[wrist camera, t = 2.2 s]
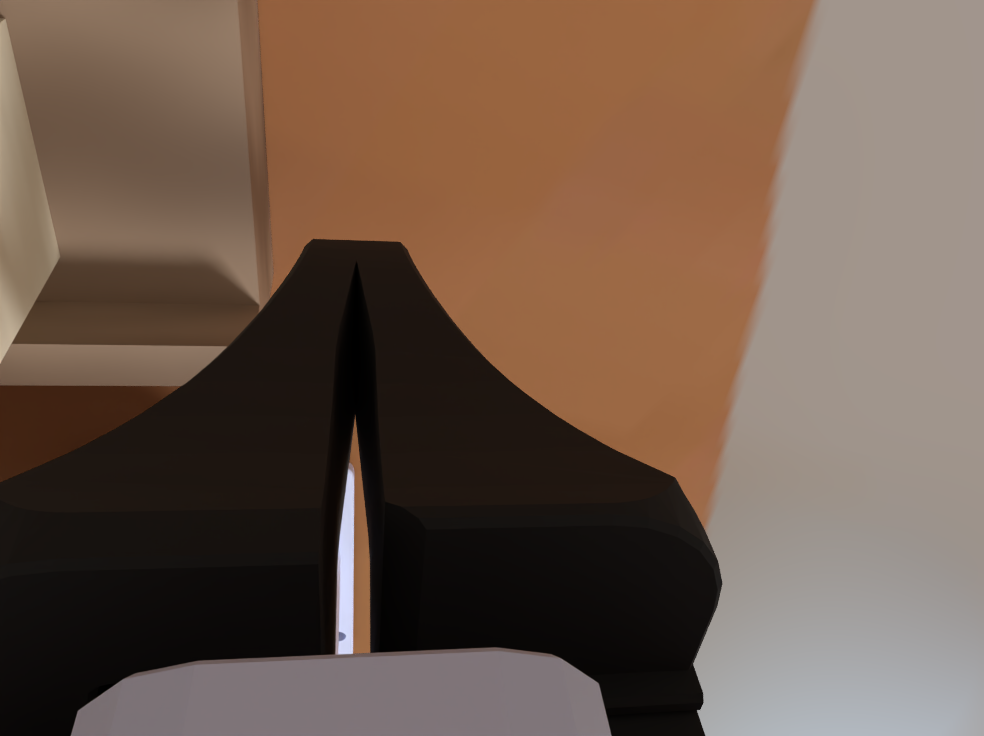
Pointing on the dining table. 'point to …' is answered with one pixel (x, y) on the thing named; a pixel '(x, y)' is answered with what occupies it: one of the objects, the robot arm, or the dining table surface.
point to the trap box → (143, 186)
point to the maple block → (20, 206)
